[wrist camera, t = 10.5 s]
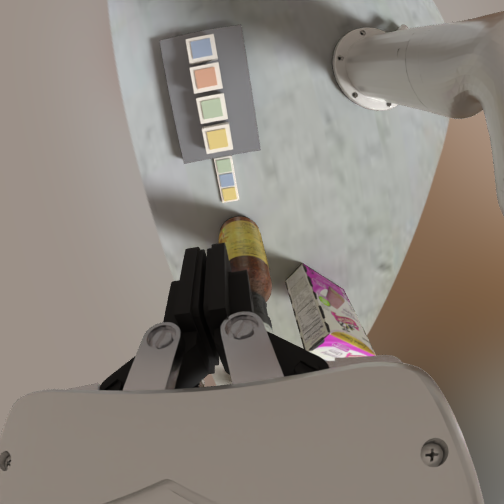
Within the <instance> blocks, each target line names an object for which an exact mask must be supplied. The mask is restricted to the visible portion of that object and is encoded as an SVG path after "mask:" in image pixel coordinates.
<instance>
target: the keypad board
mask: <svg viewBox="0 0 504 504" xmlns="http://www.w3.org/2000/svg"><path fill="white" fill-rule="evenodd" d="M210 34H214V38H215V44H216V50H217V56H218V60H215V61H209V62H204V63H199V64H194V65H191V64H190V63H189V57H188V51H187V45H186V39H190V38H194V37H199V36H204V35H210ZM160 47H161V53H162V58H163V64H164V69H165V75H166V80H167V85H168V90H169V96H170V101H171V106H172V111H173V115H174V120H175V125H176V130H177V134H178V139H179V144H180V148H181V153H182V157H183V161H184V164H186V163H191V162H196V161H201V160H206V159H211V158H217V157H222V156H228V155H234V154H240V153H246V152H252V151H259V150H261V149H260V142H259V135H258V128H257V122H256V115H255V108H254V102H253V95H252V88H251V82H250V76H249V69H248V63H247V57H246V51H245V45H244V39H243V33H242V27H241V25H234V26H227V27H221V28H215V29H209V30H204V31H198V32H194V33H189V34H184V35H180V36H176V37H172V38H168V39H164V40H160ZM217 62H218V63H219V68H220V74H221V80H222V86H223V88H222V89H217V90H211V91H206V92H201V93H196V94H194V90H193V84H192V79H191V73H190V68H191V67H196V66H201V65H206V64H211V63H217ZM221 93H224V97H225V103H226V109H227V115H228V119H226V120H220V121H214V122H209V123H204V124H201V122H200V117H199V112H198V106H197V101H196V98H200V97H205V96H210V95H215V94H221ZM226 122H229V126H230V132H231V138H232V144H233V150H227V151H221V152H216V153H210V154H207V153H206V148H205V142H204V137H203V132H202V128H203V127H204V126H209V125H215V124H220V123H226Z"/></svg>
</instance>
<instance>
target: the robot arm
mask: <svg viewBox="0 0 504 504" xmlns="http://www.w3.org/2000/svg"><path fill="white" fill-rule="evenodd" d="M360 32H361V34H362V35H361V34H360ZM338 57H339V58H340V60H338ZM332 64H333V72H334V75H335V78H336V81H337V83H338V85H339V87H340V88H341V90H342V91H343V92H344V94H345V95H346V96H347V97H348V98H349V99H350V100H351V101H353V102H354V103H356V104H357V105H359V106H361V107H364V108H367V109H370V110H376V111H384V110H389V109H392V108H394V107H396V106H398V105H402V106H407V107H411V108H415V109H419V110H423V111H427V112H431V113H434V114H438V115H441V116H445V117H449V118H454V119H463V118H468V117H472V116H474V115H476V114H477V113H479V112H481V111H482V110H483V111H484V114H485V118H486V122H487V127H488V132H489V135H490V141H491V148H492V155H493V164H494V173H495V182H496V192H497V198H498V203H499V206H500V209H501V212H502V214H503V216H504V11H501V12H497V13H493V14H489V15H485V16H481V17H477V18H473V19H468V20H464V21H459V22H452V23H445V24H438V25H430V26H423V27H416V28H410V29H409V28H408V27H407V26H406V25H401V26H400V27H399V29H398V30H397V31H393V32H388V33H387V32H385V31H382V30H380V29H376V28H370V27H367V28H359V29H355V30H353V31H350V32H349V33H347V34H346V35H344V36H343V37H342V38H341V39H340V40H339V42H338V44H337V45H336V47H335V50H334V54H333V62H332ZM352 93H353V94H354V96H352ZM386 103H387V105H386ZM219 357H220V360H221V362H222V364H223V366H224V369H225V372H227V373H228V374H230V375H231V379H232V383H233V384H229V385H220V386H211V387H204V383H205V382H204V378H205V377H206V376H207V375H208V374H213V373H215V365H219ZM422 446H423V447H422ZM0 504H484V501H483V497H482V493H481V489H480V485H479V481H478V477H477V474H476V471H475V468H474V465H473V462H472V459H471V456H470V453H469V450H468V448H467V445H466V442H465V440H464V437H463V434H462V432H461V429H460V427H459V425H458V423H457V420H456V418H455V416H454V414H453V412H452V410H451V408H450V406H449V404H448V402H447V400H446V399H445V397H444V395H443V393H442V392H441V390H440V389H439V387H438V385H437V384H436V383H435V381H434V380H433V379H432V378H431V377H430V376H429V375H428V374H427V373H426V372H425V371H423V370H422V369H420V368H418V367H416V366H413V365H409V364H404V363H403V362H402V361H400V359H399V358H397V357H394V356H391V355H380V356H365V357H345V358H335V361H325V360H324V359H323V358H321V357H319V356H317V355H315V354H313V353H311V352H309V351H307V350H305V349H303V348H300V347H298V346H296V345H294V344H292V343H290V342H288V341H286V340H284V339H282V338H280V337H278V336H276V335H274V334H272V333H270V332H268V331H266V329H265V326H264V323H263V321H262V319H261V318H260V317H259V316H258V315H257V314H255V313H254V307H253V299H252V293H251V287H250V282H249V276H248V271H247V270H242V271H236V272H232V271H231V267H230V262H229V258H228V253H227V249H226V245H225V242H224V243H218V244H213V245H212V248H209V249H207V257H206V253H205V250H204V249H203V250H200V248H199V247H195V248H189V249H186V250H185V255H184V260H183V265H182V270H181V276H180V280H179V281H173V282H172V283H171V287H170V291H169V296H168V301H167V306H166V311H165V317H164V321H163V322H162V323H159V324H156V325H154V326H153V327H151V328H150V329H149V330H147V331H146V333H145V335H144V336H143V339H142V341H141V344H140V346H139V349H138V351H137V354H136V356H135V357H134V358H132V359H131V360H130V361H129V362H127V363H126V364H125V365H123V366H122V367H121V368H120V369H118V370H117V371H116V372H114V373H113V374H112V375H111V376H109V377H108V378H107V379H106V380H105V381H104V382H103V383H102V384H101V385H99V384H98V383H96V384H91V385H86V386H81V387H76V388H71V389H51V390H42V391H36V392H32V393H30V394H27V395H25V396H23V397H21V398H20V399H18V400H17V401H16V402H15V403H14V404H13V406H12V408H11V410H10V412H9V414H8V417H7V419H6V421H5V424H4V427H3V430H2V433H1V436H0Z"/></svg>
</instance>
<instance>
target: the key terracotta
mask: <svg viewBox="0 0 504 504" xmlns="http://www.w3.org/2000/svg"><path fill="white" fill-rule="evenodd" d="M190 73H191V79H192V84H193V90H194V94H196V93H201V92H206V91H211V90H217V89H222V88H223V86H222V80H221V74H220V68H219V63H218V62H217V63H211V64H206V65H201V66H196V67H191V68H190Z"/></svg>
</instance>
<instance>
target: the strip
mask: <svg viewBox="0 0 504 504" xmlns="http://www.w3.org/2000/svg"><path fill="white" fill-rule="evenodd" d="M214 162H215V167H216V172H217V177H218V182H219V187H220V192H221V197H222V202H223V203H226V202H232V201H237V200H239V195H238V189H237V183H236V178H235V172H234V166H233V161H232V155H229V156H223V157H218V158H214Z"/></svg>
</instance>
